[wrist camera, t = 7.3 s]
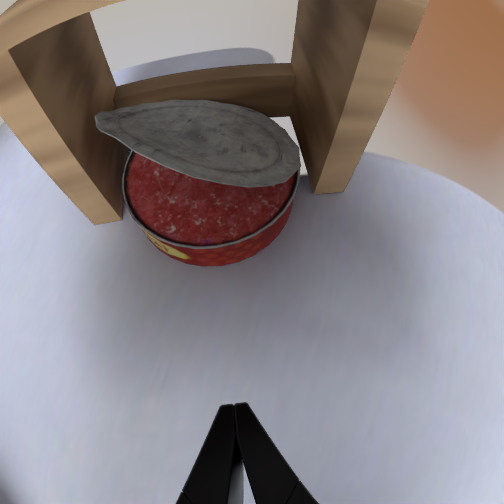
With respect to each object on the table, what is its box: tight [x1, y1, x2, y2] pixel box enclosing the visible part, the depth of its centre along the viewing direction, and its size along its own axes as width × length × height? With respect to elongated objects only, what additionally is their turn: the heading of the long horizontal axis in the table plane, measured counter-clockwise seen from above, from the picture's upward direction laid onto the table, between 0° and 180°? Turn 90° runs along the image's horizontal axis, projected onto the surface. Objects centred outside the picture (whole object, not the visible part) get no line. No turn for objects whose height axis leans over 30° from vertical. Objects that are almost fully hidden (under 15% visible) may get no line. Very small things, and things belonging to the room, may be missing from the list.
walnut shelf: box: [0, 0, 429, 225], centre depth 13 cm, size 8×16×14 cm, turn 98°
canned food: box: [95, 100, 301, 266], centre depth 16 cm, size 11×10×10 cm
